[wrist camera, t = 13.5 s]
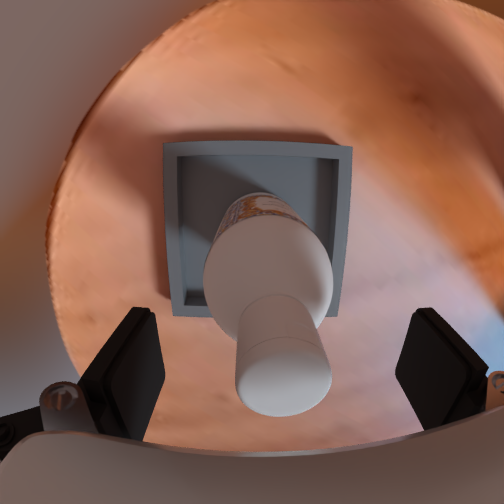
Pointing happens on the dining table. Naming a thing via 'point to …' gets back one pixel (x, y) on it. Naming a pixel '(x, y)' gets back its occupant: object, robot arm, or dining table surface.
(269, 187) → the blue-gray tray
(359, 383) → the dining table surface
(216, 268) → the bath foam
